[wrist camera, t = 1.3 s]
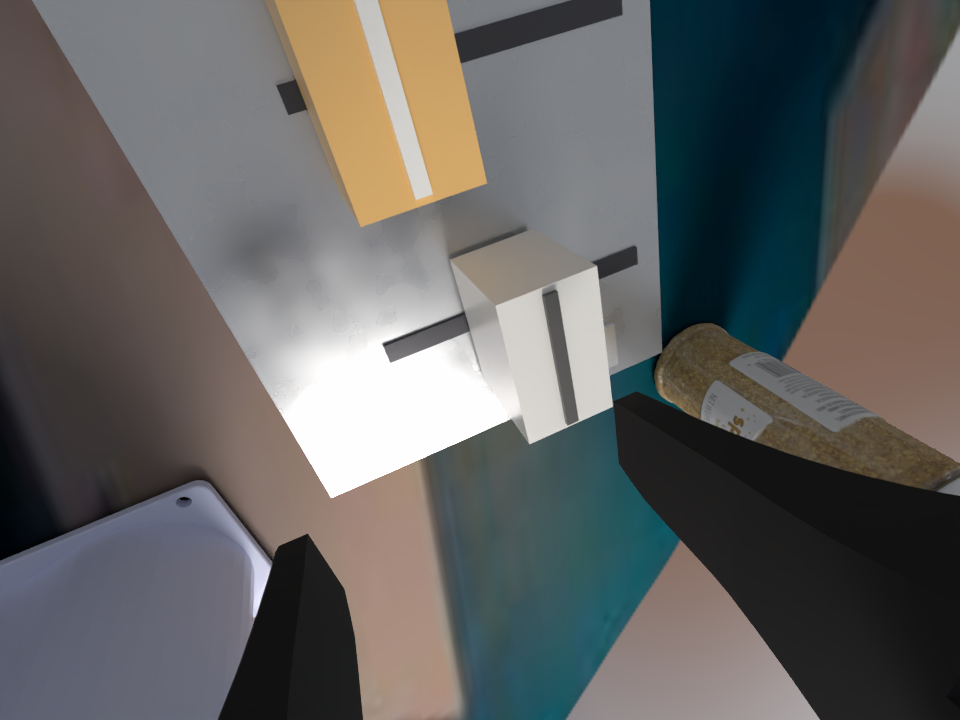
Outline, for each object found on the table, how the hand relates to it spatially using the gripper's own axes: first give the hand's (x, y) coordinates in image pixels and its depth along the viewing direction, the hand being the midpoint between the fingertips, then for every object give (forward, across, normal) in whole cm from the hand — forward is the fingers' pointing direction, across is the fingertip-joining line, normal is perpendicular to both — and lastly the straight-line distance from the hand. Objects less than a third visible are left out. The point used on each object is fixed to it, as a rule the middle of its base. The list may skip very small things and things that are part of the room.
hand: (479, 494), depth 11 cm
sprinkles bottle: (+10, -13, +8) cm, 18 cm away
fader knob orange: (+7, -1, -8) cm, 11 cm away
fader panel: (+10, -3, -4) cm, 11 cm away
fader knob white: (+7, -4, 0) cm, 8 cm away
